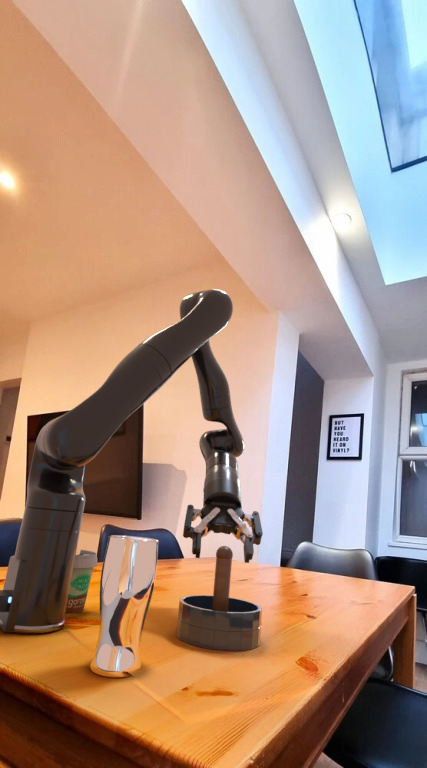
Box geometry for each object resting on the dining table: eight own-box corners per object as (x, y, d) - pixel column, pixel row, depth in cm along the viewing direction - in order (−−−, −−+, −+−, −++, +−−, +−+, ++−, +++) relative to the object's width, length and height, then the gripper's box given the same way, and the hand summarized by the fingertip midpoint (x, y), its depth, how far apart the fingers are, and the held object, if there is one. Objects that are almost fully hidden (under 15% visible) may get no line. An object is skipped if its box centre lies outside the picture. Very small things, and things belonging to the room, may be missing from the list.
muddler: (215, 642, 64) (223, 546, 68) (200, 635, 67) (208, 544, 71) (235, 640, 66) (241, 547, 70) (219, 633, 69) (226, 545, 74)
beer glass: (93, 681, 47) (115, 538, 51) (80, 660, 53) (101, 533, 57) (152, 676, 50) (168, 541, 54) (133, 657, 56) (149, 537, 60)
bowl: (210, 660, 58) (213, 615, 59) (159, 633, 68) (164, 596, 70) (277, 650, 65) (278, 610, 67) (222, 627, 75) (225, 594, 77)
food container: (66, 623, 68) (78, 557, 71) (33, 617, 70) (46, 553, 73) (101, 609, 80) (110, 553, 83) (72, 605, 81) (82, 549, 84)
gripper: (189, 473, 84) (183, 537, 70) (259, 480, 85) (268, 545, 71) (185, 501, 88) (179, 568, 73) (253, 508, 89) (260, 575, 74)
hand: (223, 557), depth 72 cm, fingers open, 8 cm apart
